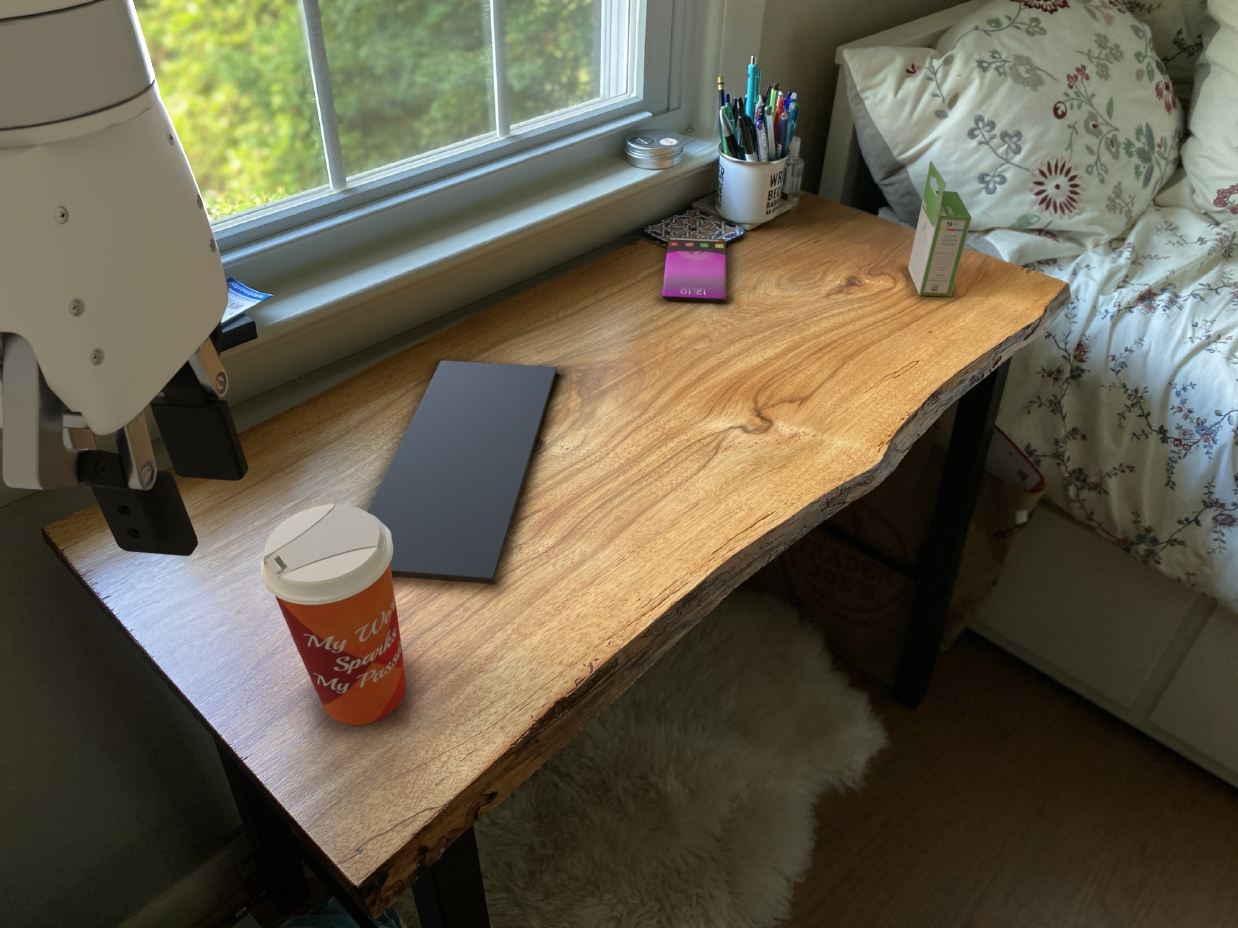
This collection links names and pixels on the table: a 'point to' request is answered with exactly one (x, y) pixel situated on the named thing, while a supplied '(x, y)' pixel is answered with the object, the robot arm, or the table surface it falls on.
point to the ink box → (938, 239)
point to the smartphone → (695, 269)
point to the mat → (462, 470)
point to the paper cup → (340, 607)
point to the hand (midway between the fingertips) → (187, 506)
